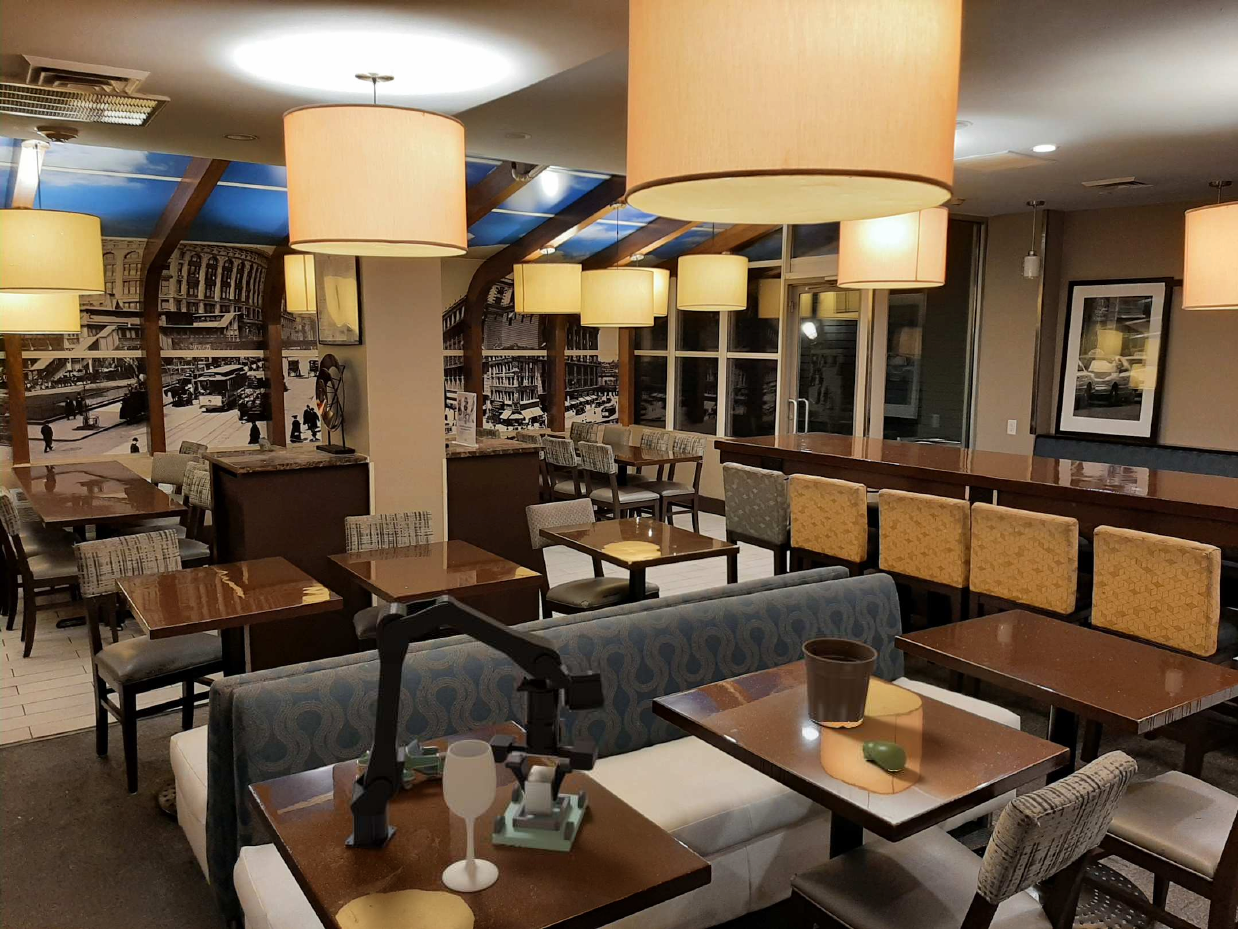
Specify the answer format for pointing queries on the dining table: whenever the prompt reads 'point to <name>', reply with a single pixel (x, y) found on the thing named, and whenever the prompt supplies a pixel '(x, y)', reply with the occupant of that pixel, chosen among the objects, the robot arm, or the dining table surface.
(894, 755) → the pear
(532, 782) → the white block
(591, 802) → the dining table surface
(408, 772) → the hoverbike
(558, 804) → the chassis
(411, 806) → the dining table surface
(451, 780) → the wineglass
